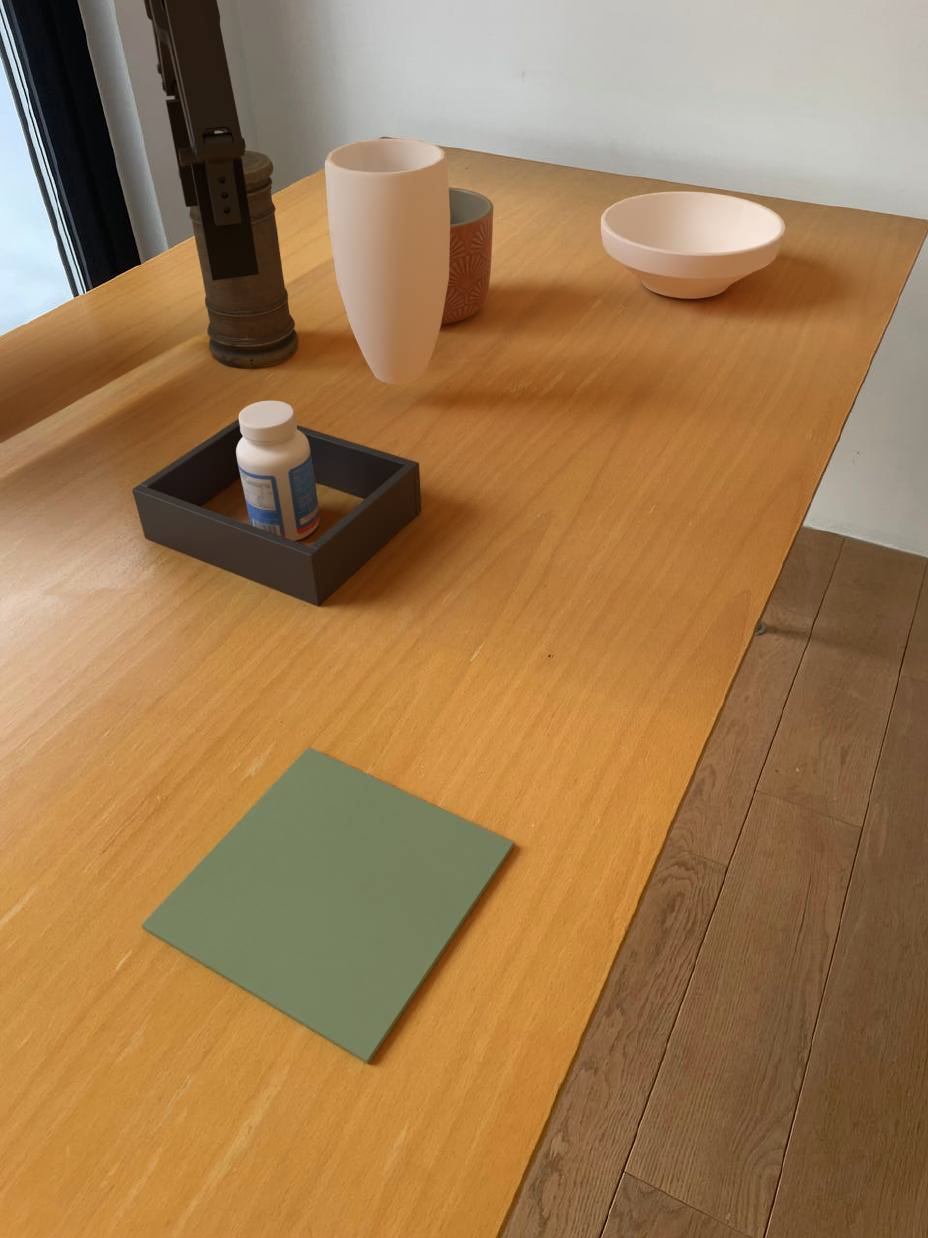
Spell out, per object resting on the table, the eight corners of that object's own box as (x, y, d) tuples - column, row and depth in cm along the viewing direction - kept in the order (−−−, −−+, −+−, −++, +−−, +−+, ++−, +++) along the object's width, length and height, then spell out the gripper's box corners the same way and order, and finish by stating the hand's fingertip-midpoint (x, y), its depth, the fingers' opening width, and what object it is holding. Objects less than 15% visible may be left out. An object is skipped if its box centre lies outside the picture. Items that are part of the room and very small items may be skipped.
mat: (142, 929, 51) (140, 924, 51) (309, 751, 61) (308, 746, 60) (368, 1065, 46) (367, 1060, 46) (514, 846, 55) (514, 842, 55)
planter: (376, 335, 104) (368, 229, 97) (380, 288, 114) (373, 187, 107) (496, 332, 104) (496, 225, 97) (489, 285, 114) (490, 184, 107)
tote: (144, 538, 77) (131, 489, 75) (258, 457, 86) (250, 410, 83) (318, 606, 71) (311, 555, 68) (422, 511, 80) (419, 462, 77)
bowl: (560, 284, 114) (563, 219, 109) (672, 240, 124) (679, 179, 119) (698, 339, 103) (708, 269, 98) (809, 286, 112) (823, 221, 108)
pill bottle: (310, 499, 81) (296, 389, 75) (328, 535, 77) (314, 422, 71) (243, 513, 80) (222, 403, 73) (258, 551, 76) (237, 438, 70)
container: (285, 371, 98) (258, 178, 87) (197, 366, 99) (158, 175, 88) (310, 332, 105) (288, 148, 93) (227, 327, 106) (195, 145, 95)
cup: (380, 441, 88) (360, 184, 74) (325, 394, 95) (296, 151, 81) (479, 408, 92) (477, 159, 78) (419, 365, 99) (408, 129, 85)
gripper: (262, -185, 42) (317, 303, 56) (192, -199, 60) (247, 172, 74) (77, -179, 41) (180, 322, 54) (62, -195, 59) (143, 184, 72)
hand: (219, 236), depth 64 cm, fingers open, 13 cm apart
